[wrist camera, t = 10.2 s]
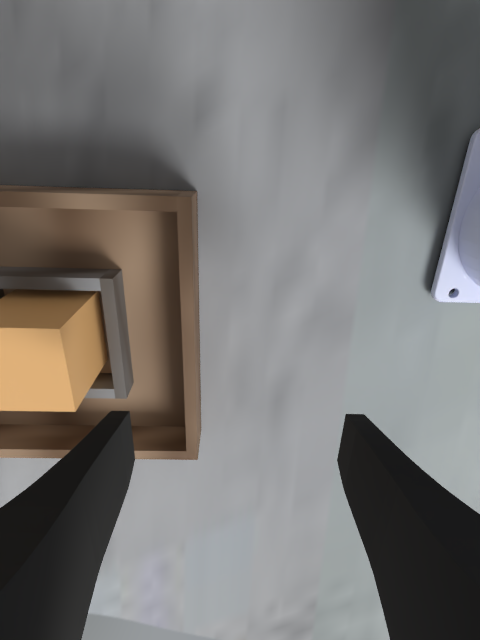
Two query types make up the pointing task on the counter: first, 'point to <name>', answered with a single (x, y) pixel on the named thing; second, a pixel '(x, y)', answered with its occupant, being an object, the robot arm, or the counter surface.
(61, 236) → the box
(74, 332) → the plug
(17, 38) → the counter surface
